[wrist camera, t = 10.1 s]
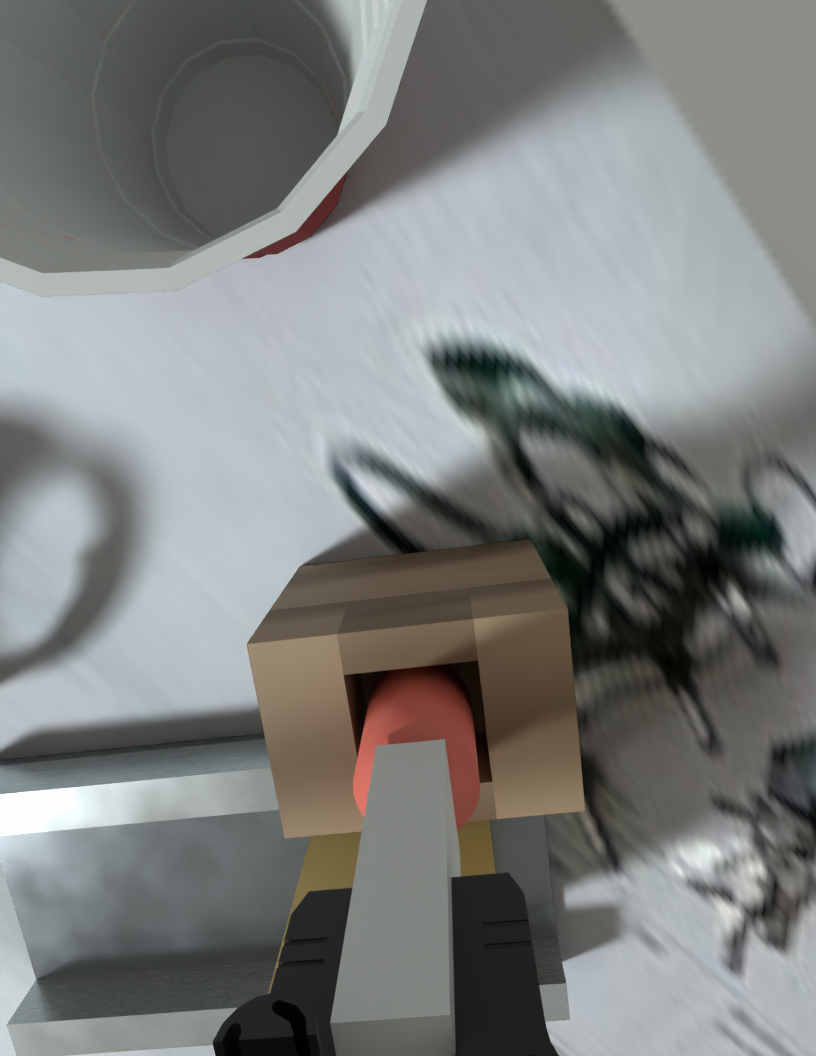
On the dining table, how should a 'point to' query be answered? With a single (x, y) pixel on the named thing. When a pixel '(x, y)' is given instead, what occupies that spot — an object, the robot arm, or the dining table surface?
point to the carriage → (338, 853)
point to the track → (176, 892)
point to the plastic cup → (182, 131)
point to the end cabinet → (415, 641)
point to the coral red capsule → (422, 728)
